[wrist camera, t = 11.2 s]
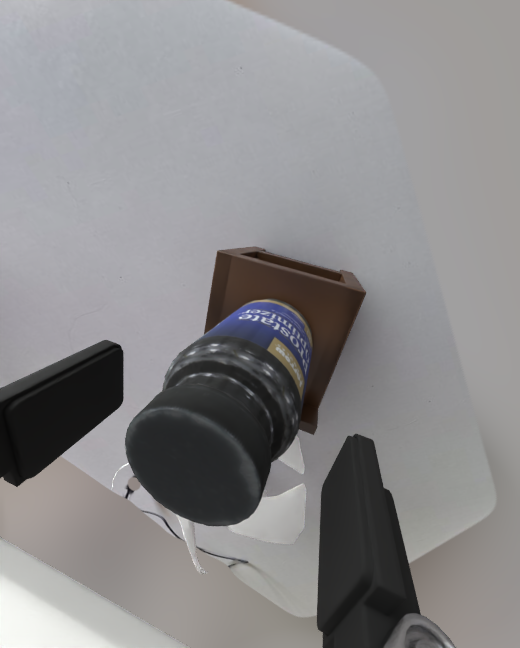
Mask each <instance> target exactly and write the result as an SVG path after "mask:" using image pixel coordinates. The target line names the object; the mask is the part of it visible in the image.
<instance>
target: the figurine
mask: <svg viewBox="0 0 520 648" xmlns="http://www.w3.org/2000/svg"><path fill="white" fill-rule="evenodd" d="M125 450H126V449H125ZM278 459H279V460H280V461H282V462H283V463H285V464H286V465H288V466H289V467H291V468H292V469H294V470H295V471H297V472H298V473H300V474H302V475H303V474H304V470H305V465H304V461H303V457H302V453H301V448H300V440H299V438H298V437H297V436H295V439H294V441H293V442H292V444H291V445H290V447H289V448H288V449H287V450H286V452H285V453H284V454H282V455H281V456H280V457H278ZM126 465H128V464H126ZM126 465H123V466H122V467H124V466H126ZM122 467H121V468H122ZM121 468H120V469H121ZM120 469H119V470H120ZM119 470H118V471H119ZM118 471H117V472H118ZM117 472H116V474H117ZM116 474H115V476H116ZM115 476H114V477H115ZM113 480H114V478H113ZM112 488H113V484H112ZM306 494H307V490H306V488H305V485H304V484H301V485H299V486H296V487H294V488H292V489H290V490H288V491H286V492H284V493H282V494H280V495H278V496H272V497H266V496H267V491H266V490H265V489H264V491H263V494H262V498H261V501H260V503H259V505H258V507H257V509H256V510H255V512H254V513H253V514H252V515H251V516H250V517H249V518H248V519H245V520H243V521H242V522H240V523H238V524H235V525H229V526H227V527H228V528H229V530H230V531H231V532H233V533H236V534H240V535H243V536H246V537H249V538H252V539H256V540H259V541H264V542H269V543H274V544H284V545H293V544H294V542H295V541H296V540H297V538H298V537H299V535H300V534H301V532H302V531H303V529H304V528H305V505H306ZM176 515H177V514H176ZM177 517H178V520H179V522H180V524H181V527H182V531H183V536H184V538H185V541H186V543H187V546H188V549H189V552H190V554H191V557H192V560H193V563H194V565H195V567H196V568H197V570H198V572H199V573H200V574H206V573H207V572H206V571H205V570H204V569H202V568H201V566H200V564H199V561H198V559H197V556H196V540H195V529H194V524H193V521H190V520H188V519H185V518H183V517H180V516H179V515H177Z"/></svg>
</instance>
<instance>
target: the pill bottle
mask: <svg viewBox="0 0 520 648" xmlns="http://www.w3.org/2000/svg"><path fill="white" fill-rule="evenodd" d="M312 349H313V344H312V332H311V328H310V326H309V324H308V322H307V321H306V319H305V318H304V316H303V315H302V314H301V313H300V312H299V311H298V310H297V309H296V308H294V307H293V306H291V305H289V304H287V303H286V302H283V301H280V300H277V299H264V300H254V301H251V302H248V303H246V304H245V305H243V306H242V307H241V308H239V309H238V310H237V311H235V312H234V313H233V314H231V315H230V316H229V317H227V318H226V319H225V320H223V321H222V322H221V323H219V324H218V325H217V326H215V327H214V328H213V329H211V330H210V331H209V332H207V333H206V334H205V335H203V336H202V337H201V338H199V339H198V340H197V341H195V342H194V343H193V344H191V345H190V346H188V347H187V348H186V349H184V350H183V351H182V352H180V353H179V355H178V356H177V358H175V359H174V360H173V362H172V363H171V366H170V367H169V369H168V371H167V373H166V375H165V381H164V383H163V390H162V392H161V393H159V394H158V395H157V396H156V397H155V398H154V399H153V400H152V401H151V402H150V403H149V404H148V405H147V406H146V407H145V408H144V409H143V410H142V411H141V412H140V413H139V414H138V415H136V416H135V417H134V419H133V420H132V422H131V423H130V425H129V427H128V429H127V433H126V438H125V449H126V455H127V458H128V462H129V464H130V466H131V468H132V470H133V473H134V474H135V476H136V477H137V479H138V481H139V482H140V483H141V485H142V486H143V487H144V488H145V489H146V490H147V491H148V492H149V493H150V494H151V495H152V496H153V498H154V499H155V500H156V501H158V502H159V503H160V504H162V505H163V506H164V507H165V508H167V509H169V510H171V511H172V512H174V513H175V514H177V515H179V516H180V517H183V518H185V519H188V520H190V521H193V522H196V523H200V524H204V525H207V526H229V525H235V524H238V523H240V522H242V521H243V520H245V519H248V518H249V517H250V516H251V515H252V514H253V513H254V512H255V510H256V509H257V507H258V505H259V503H260V501H261V498H262V494H263V491H264V487H265V485H266V481H267V478H268V475H269V473H270V468H271V462H273V461H275V460H277V459H278V457H280V456H281V455H282V454H284V453H285V452H286V450H287V449H288V448H289V447H290V445H291V444H292V442H293V441H294V439H295V436H296V434H297V432H298V430H299V424H300V420H301V413H302V407H303V401H304V395H305V390H306V384H307V378H308V372H309V367H310V361H311V354H312Z"/></svg>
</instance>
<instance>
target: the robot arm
mask: <svg viewBox="0 0 520 648" xmlns="http://www.w3.org/2000/svg"><path fill="white" fill-rule="evenodd" d="M122 402H123V350H122V349H121V346H120V345H119V344H116V343H113V342H111V341H108V340H104V341H101V342H99V343H97V344H95V345H93V346H90V347H88V348H86V349H84V350H82V351H80V352H78V353H75V354H73V355H71V356H69V357H67V358H65V359H63V360H60V361H58V362H56V363H54V364H52V365H50V366H48V367H45V368H43V369H41V370H39V371H37V372H35V373H32V374H30V375H28V376H26V377H24V378H22V379H20V380H17V381H15V382H13V383H11V384H9V385H7V386H5V387H2V388H0V478H1V477H3V478H4V480H5V481H7V482H9V483H11V484H13V485H15V486H16V487H18V486H19V485H20V484H21V483H23V482H24V481H25V480H26V479H29V478H32V477H34V476H36V475H37V474H38V473H40V472H41V471H42V470H43V469H44V468H46V467H47V466H48V465H49V464H51V463H52V462H53V461H54V460H55V459H57V458H58V457H59V456H60V455H62V454H63V453H64V452H65V451H66V450H68V449H69V448H70V447H71V446H73V445H74V444H75V443H76V442H77V441H79V440H80V439H81V438H82V437H84V436H85V435H86V434H87V433H88V432H90V431H91V430H92V429H93V428H95V427H96V426H97V425H98V424H99V423H101V422H102V421H103V420H104V419H106V418H107V417H108V416H109V415H111V414H112V413H113V412H114V411H115V410H117V409H118V408H119V407H120V406H121V404H122ZM317 626H318V630H320V631H321V632H323V648H456V647H455V646H454V644H453V643H452V641H451V640H450V638H449V637H448V636H447V635H446V634H445V633H444V632H443V631H442V630H441V629H440V628H439V627H438V626H437V625H436V624H435V623H433V622H432V621H431V620H429V619H428V618H427V617H425V616H422V615H421V614H420V610H419V606H418V601H417V597H416V593H415V589H414V584H413V580H412V576H411V572H410V568H409V563H408V559H407V555H406V551H405V546H404V542H403V538H402V534H401V530H400V525H399V521H398V517H397V513H396V509H395V504H394V500H393V497H392V494H391V493H390V491H389V490H387V489H385V488H383V483H382V478H381V473H380V469H379V464H378V459H377V454H376V450H375V445H374V441H373V440H372V439H369V438H366V437H364V436H361V435H358V434H355V435H354V436H353V437H352V436H348V437H347V439H346V441H345V443H344V444H343V446H342V448H341V450H340V452H339V454H338V456H337V458H336V460H335V462H334V464H333V466H332V468H331V470H330V472H329V474H328V476H327V478H326V480H325V482H324V484H323V487H322V492H321V517H320V545H319V574H318V602H317ZM0 648H190V647H189V646H187V645H185V644H183V643H181V642H180V641H178V640H177V639H175V638H173V637H172V636H170V635H168V634H167V633H165V632H163V631H161V630H160V629H158V628H156V627H154V626H153V625H151V624H150V623H148V622H146V621H144V620H143V619H141V618H139V617H138V616H136V615H134V614H132V613H131V612H129V611H127V610H126V609H124V608H122V607H121V606H119V605H117V604H116V603H114V602H112V601H110V600H108V599H107V598H105V597H103V596H102V595H100V594H98V593H96V592H95V591H93V590H91V589H90V588H88V587H86V586H84V585H83V584H81V583H79V582H78V581H76V580H74V579H73V578H71V577H69V576H67V575H66V574H64V573H62V572H60V571H58V570H57V569H55V568H54V567H52V566H50V565H48V564H47V563H45V562H43V561H41V560H40V559H38V558H36V557H35V556H33V555H31V554H29V553H27V552H26V551H24V550H22V549H21V548H19V547H17V546H15V545H14V544H12V543H10V542H8V541H7V540H5V539H3V538H2V537H0Z"/></svg>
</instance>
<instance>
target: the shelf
mask: <svg viewBox="0 0 520 648" xmlns="http://www.w3.org/2000/svg"><path fill="white" fill-rule="evenodd" d="M365 295H366V291H365V290H364V289H363V287H362V286H361V284H360V283H359V281H358V280H357V278H356V277H355V276H354V274H353V273H351V272H347V271H343V270H340V272H338V271H334V270H331V269H327V268H323V267H320V266H316V265H312V264H309V263H305V262H301V261H298V260H294V259H290V258H287V257H283V256H279V255H275V254H272V253H268V252H265V249H262V248H258V247H246V248H237V249H228V250H218V251H217V255H216V261H215V268H214V274H213V280H212V287H211V293H210V300H209V306H208V312H207V319H206V325H205V332H204V335H205V334H206V333H207V332H209V331H210V330H211V329H213V328H214V327H215V326H217V325H218V324H219V323H221V322H222V321H223V320H225V319H226V318H227V317H229V316H230V315H231V314H233V313H234V312H235V311H237V310H238V309H239V308H241V307H242V306H243V305H245V304H246V303H248V302H251V301H254V300H264V299H277V300H280V301H283V302H286V303H287V304H289V305H291V306H293V307H294V308H296V309H297V310H298V311H299V312H300V313H301V314H302V315H303V316H304V318H305V319H306V321H307V322H308V324H309V326H310V328H311V332H312V344H313V349H312V354H311V361H310V367H309V372H308V378H307V384H306V390H305V395H304V401H303V407H302V413H301V420H300V424H299V429H300V430H302V431H305V432H308V433H310V434H313V435H314V433H315V431H316V429H317V422H318V408H319V406H320V403H321V401H322V398H323V396H324V394H325V391H326V389H327V386H328V384H329V381H330V379H331V377H332V374H333V372H334V369H335V367H336V365H337V362H338V360H339V357H340V355H341V353H342V350H343V348H344V345H345V343H346V340H347V338H348V336H349V333H350V331H351V328H352V326H353V324H354V321H355V319H356V316H357V314H358V311H359V309H360V307H361V304H362V302H363V299H364V297H365Z"/></svg>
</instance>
